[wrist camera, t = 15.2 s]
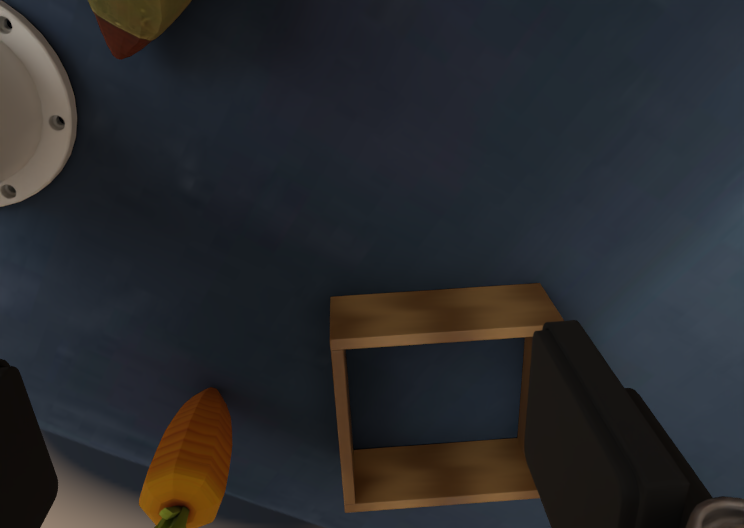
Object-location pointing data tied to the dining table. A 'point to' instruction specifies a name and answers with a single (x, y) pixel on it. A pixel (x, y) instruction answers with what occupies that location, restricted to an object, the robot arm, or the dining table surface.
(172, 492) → the carrot
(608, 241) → the dining table surface
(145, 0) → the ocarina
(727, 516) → the robot arm
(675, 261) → the dining table surface
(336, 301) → the wooden frame
